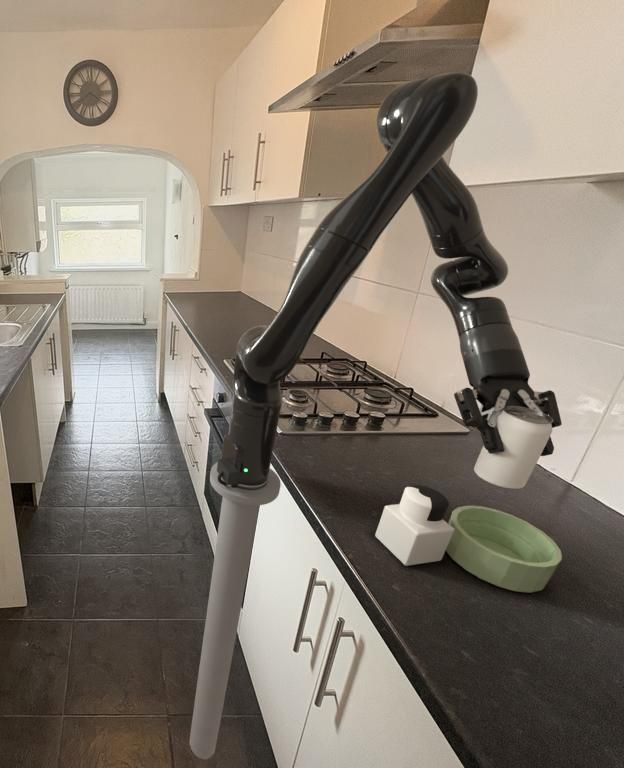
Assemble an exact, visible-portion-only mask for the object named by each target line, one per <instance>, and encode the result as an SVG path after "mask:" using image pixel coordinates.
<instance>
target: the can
mask: <svg viewBox="0 0 624 768" xmlns="http://www.w3.org/2000/svg"><path fill="white" fill-rule="evenodd" d="M511 408H515V409H511ZM552 422H553V419H552V418H551V417H550V416H549V415H546V414H544V413H542V412H540V411H537V410H533V409H530V408H525V407H520V406H506V407H504V409H503V412H502V414H501V415H499V416H498V418H497V425H496V427H495V428H498V431H499V434H500V436H501V440H502V443H503V447H504V451H503V452H501V453H497V454H490V453H489V452H488V450H486V449H485V447H484V444H483V445H482V448H481V450H480V452H479V455H478V457H477V459H476V462H475V465H474V467H473V471H474V473H475V475H476V476H477V477H478V478H479V479H481V480H482V481H484V482H485V483H488V484H490V485H491V486H495V487H498V488H500V489H506V490H512V491H513V490H520V489H524V488H525V486H526V484H527V483H528V480H529V479H530V477H531V475H532V473H533V471H534V469H535V467H536V465H537V463H538V461H539V460H540V457H541V456H540V455H541V453H542V451H543V449H544V447H545V445H546V443H547V441H548V439H549V437H551V435H552V433H553V428H552V425H551V423H552Z"/></svg>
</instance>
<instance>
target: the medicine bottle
mask: <svg viewBox="0 0 624 768" xmlns="http://www.w3.org/2000/svg"><path fill="white" fill-rule="evenodd" d="M449 506H450V502H449V500H448V498H447V497H446V496H445V495H444V494H443V493H442V492H440V491H439V490H437V489H434V488H432V487H429V486H427V485H421V484H410V485H408V486H406V487H405V488H404V490H403V493H402V496H401V498H400V502H399V503H398V504H397V503H396V504H388V505H384V507H383V511H382V514H381V516H380V519H379V522H378V525H377V528H376V531H375V534H374V536H375V538H376V539H377V540H378V541H380V543H381V544H383V546H384V547H385V548H387V550H388V551H390V552H391V553H392V554H393V556H394V557H396V559H398V560H399V561H400V562H401V563H402V564H403V565H404V566H406V567H409V566H415V565H420V564H421V565H422V564H428V563H434V562H440V561H442V560H443V558H444V555H445V553H446V548H447V546H448V544H449V541H450V539H451V537H452V535H453V532H454V528H453V527H452V526H450V525H449V524H448V522H447V521H445V520H444V518H445V515H446V513H447V511H448V509H449Z"/></svg>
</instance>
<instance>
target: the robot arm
mask: <svg viewBox="0 0 624 768" xmlns="http://www.w3.org/2000/svg"><path fill="white" fill-rule="evenodd" d="M478 89H479V88H478V83H477V81H476V79H475V78H474V77H473V75H470V73H469V74H468V73H466V72H457V71H456V72H445V73H440V74H437V75H431V76H427V77H421V78H417V79H412V80H408V81H405V82H403V83H401V84H399V85H397V86H395V87H394V88H393V89H392V90H391V91H390V92H388V94H387V95H386V96H385V97H384V99H383V100H382V102H381V104H380V105H379V109H378V110H377V114H376V120H375V128H376V133H377V136H378V138H379V141H380V143H381V144H382V146H383V148H384V149H385V151H386V154H385V156H384V158H382V160H381V161H380V163H379V164H378V165H377V167H376V168H375V169H374V171H373V172H372V173H371V174H369V176H367V178H366V179H365V180H364V181H363V182H361V183H360V185H359V186H357V187H356V188H355V189H354V190H353V191H351V192H350V193H349V194H348V195H346V196H345V197H344V198H343V199H342V200H340V201H339V203H337V205H335V206H334V207H332V209H331V210H330V211H329V212H328V213H327V214H326V215H325V216H324V217H323V219H322V220H321V221H320V223H319V224H318V226H317V227H316V228H315V230H314V232H313V233H312V235H311V237H310V238H309V240H308V241H307V243H306V245H305V246H304V248H303V249H302V251H301V253H300V255H299V257H298V260H297V262H296V264H295V267H294V270H293V273H292V275H291V279H290V282H289V285H288V289H287V292H286V295H285V298H284V299H283V302H282V304H281V306H280V308H279V309H278V311H277V313H276V314H275V315H274V317H273V318H272V320H271V321H270V323H269V324H268V325H265V324H263V325H256V326H253V327H251V328H249V329H247V330H246V331H245V332H244V333H243V334H242V336H241V337H240V339H239V340H238V342H237V346H236V351H235V358H234V366H233V367H234V368H233V375H232V377H233V378H232V405H231V411H230V412H231V413H230V421H229V427H228V434H224V436H223V442H222V450H221V458H219V459H217V462H218V465H217V472H218V473H219V475H218V482H219V483H220V484H222V485H224V486H227V485H230V486H231V487H232V488H241V489H245V490H257V489H261V488H263V487H265V486H266V485H267V482H268V475H269V469H271V463H272V459H273V458H272V457H273V452H274V447H275V442H276V437H277V430H278V426H279V421H280V415H281V410H282V404H283V397H282V391H281V381H282V380H283V379H285V378H287V377H288V375H289V374H291V372H292V371H293V370H294V368H295V366H296V365H297V364H298V361H299V360H300V358H301V356H302V354H303V353H304V351H305V349H306V347H307V346H308V344H309V342H310V340H311V338H312V336H313V335H314V333H315V331H316V330H317V328H318V326H319V325H320V324H321V322H322V320H323V319H324V317H325V316H326V314H327V313H328V312H329V311H330V309H331V307H332V306H333V305H334V303H335V302H336V301H337V298H338V297H340V294H341V293H342V292H343V290H344V289H345V287H346V286H347V284H348V283H349V282H350V281H351V280H352V278H353V276H354V275H356V273H357V271H358V270H359V269H360V267H361V266H362V264H363V263H364V261H365V260H366V259H367V257H368V256H369V254H370V253H371V251H372V249H374V246H375V245H376V243H377V242H378V240H379V239H380V237H381V236H382V235H383V233H384V232H385V231H386V229H387V227H388V226H389V225H390V224H391V223H392V221H393V219H394V218H395V217H396V215H397V214H398V213H399V212H400V210H401V208H402V207H403V206H404V204H405V203H406V202H407V200H408V198H410V196H411V195H412V197H413V200H414V202H415V204H416V206H417V208H418V210H419V213H420V215H421V218H422V220H423V224H424V226H425V229H426V232H427V235H428V238H429V242H430V244H431V247H432V249H433V253H434V254H435V255H436V256H437V257H438V258H440V259H446V260H447V259H454V260H449V261H446V262H444V263H441V264H439V265H438V266H436V267H435V269H433V271H432V273H431V275H430V283H431V286H432V289H433V290H434V292H435V293H436V294H437V296H438V297H439V298H440V299H441V300H442V302H443V303H444V304H445V305H446V307H447V309H448V310H449V312H450V315H451V317H452V319H453V322H454V325H455V329H456V332H457V336H458V340H459V351H460V354H461V359H462V362H463V365H464V369H465V372H466V377H467V380H468V382H469V386H470V387H465V388H462V389H461V390H458V391H456V392H454V393H453V397H454V399H455V401H456V405H457V408H458V410H459V413H460V417H461V419H462V421H463V424H464V426H465V427H467V428H469V427H472V428H475V429H477V431H479V432H480V437H481V440H482V444H483V445H484V447H485V449H486V450H488V452H489V453H490V454H497V453H501V452H503V451H504V447H503V443H502V440H501V436H500V434H499V431H498V428H495V427H496V425H497V418H498V416H499V415H501V414H502V412H503V409H504V407H506V406H520V407H525V408H530V409H533V410H537V411H540V412H542V413H544V414H546V415H548V416H550V417H551V418H552V419H553V422H552V423H551V425H552V429H554V428H557V427H561V426H562V424H563V423H562V419H561V415H560V410H559V406H558V402H557V397H556V394H555V392H554V391H552V390H551V389H549V390H545V391H536V390H533V388H532V387H531V386H530V384H529V379H530V377H531V373H530V370H529V368H528V364H527V360H526V358H525V355H524V351H523V348H522V345H521V343H520V340H519V337H518V335H517V334H516V332H515V330H514V328H513V324H512V322H511V319H510V316H509V312H508V309H507V307H506V304H505V302H504V301H503V300H502V299H501V298H499V297H496V296H479V297H466V296H470V295H473V294H476V293H482V292H484V291H488V290H493V289H494V288H498V287H499V286H501V285H502V284H503V283H504V282H505V281H506V280H507V278H508V275H509V266H508V263H507V261H506V260H505V258H504V256H503V255H502V254H501V253H500V252H499V251H498V250H497V248H496V247H495V246H494V245H493V244H492V243H491V242H490V239H488V237H487V235H486V232H485V230H484V226H483V222H482V219H481V215H480V212H479V211H480V210H479V208H478V204H477V202H476V200H475V197H474V196H473V194H472V193H471V191H470V190H469V188H468V187H467V186H466V185H465V183H464V182H463V181H462V180H461V179H460V177H458V175H457V174H456V173H455V172H454V170H453V169H452V168H451V166H450V165H449V164H448V163H447V161H446V159H445V158H444V155H445V153H446V152H447V151H448V150H449V149H450V148H451V146H452V145H453V144H454V142H455V141H456V140H457V139H458V138H459V136H460V135H461V134H462V132H463V131H464V130H465V127H466V126H467V125H468V123H469V121H470V120H471V117H472V115H473V113H474V111H475V107H476V104H477V101H478V97H479V91H478ZM478 402H479V403H480V404H481V405H480V408H479V405H478ZM511 409H515V408H511ZM554 451H555V445H554V443H553V439H552V437H551V436H550V437H549V439H548V441H547V443H546V445H545V447H544V449H543V451H542V453H541V455H540V457H546V456H551V455H553V453H554ZM221 477H222V479H223V480H224V481H225V482H224V481H222V480H221Z"/></svg>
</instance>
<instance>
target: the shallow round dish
mask: <svg viewBox="0 0 624 768" xmlns="http://www.w3.org/2000/svg"><path fill="white" fill-rule="evenodd" d="M447 523H448V524H449V525H450V526H452V527H453V528H454V532H453V535H452V537H451V539H450V541H449V544H448V546H447V548H446V551H445V553H446V554H448V556H449V557H450V558H451V559H452V560H453V561H454V563H456V564H457V565H459V566H460V567H462V568H463V569H464V570H465V571H467V572H468V573H470V574H472V575H474V576H475V577H477V578H478V579H480V580H482V581H485V582H486V583H489V584H492V585H494V586H496V587H499V588H501V589H502V588H503V589H505V590H509V591H513V592H519V593H530V594H531V593H535V592H540V591H543V590H544V589H545V587H546V586H547V585H548V583H549V582H550V581H551V579H552V577H553V576H554V573H555V571H556V570H557V569H558V567H559V565H560V564H561V562H562V560H563V555H562V550H561V549H560V548H559V546H558V545H557V543H556V542H555V540H554V539H552V538H551V537H550V536H549V535H547V533H545V532H544V531H542V530H541V529H539V528H538V527H536V526H534V525H533V524H531V523H530V522H528V521H526V520H524V519H521V518H520V517H517V516H515V515H514V514H511V513H507V512H505V511H503V510H502V511H501V510H500V509H495V508H491V507H486V506H483V505H463V506H458V507H456V508H455V509H454V510H452V512H451V514H450V515H449V519H448V521H447Z"/></svg>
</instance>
